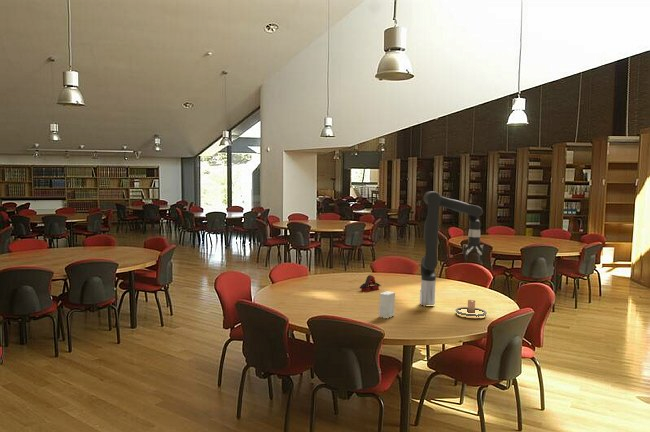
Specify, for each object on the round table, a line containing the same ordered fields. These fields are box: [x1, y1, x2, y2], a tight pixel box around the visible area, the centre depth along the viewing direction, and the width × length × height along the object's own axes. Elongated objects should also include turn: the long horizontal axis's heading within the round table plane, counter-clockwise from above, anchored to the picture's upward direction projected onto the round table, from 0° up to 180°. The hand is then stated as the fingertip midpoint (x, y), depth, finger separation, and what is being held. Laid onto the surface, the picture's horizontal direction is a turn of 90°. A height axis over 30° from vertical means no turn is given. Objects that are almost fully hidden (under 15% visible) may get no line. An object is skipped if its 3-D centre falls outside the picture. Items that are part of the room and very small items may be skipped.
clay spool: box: [467, 299, 476, 313], centre depth 316 cm, size 4×4×8 cm
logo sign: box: [359, 274, 382, 292], centre depth 378 cm, size 18×4×11 cm, turn 124°
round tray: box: [455, 306, 488, 317], centre depth 317 cm, size 18×18×3 cm
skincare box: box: [378, 290, 396, 319], centre depth 308 cm, size 8×6×15 cm
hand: (473, 260), depth 340 cm, fingers open, 8 cm apart
